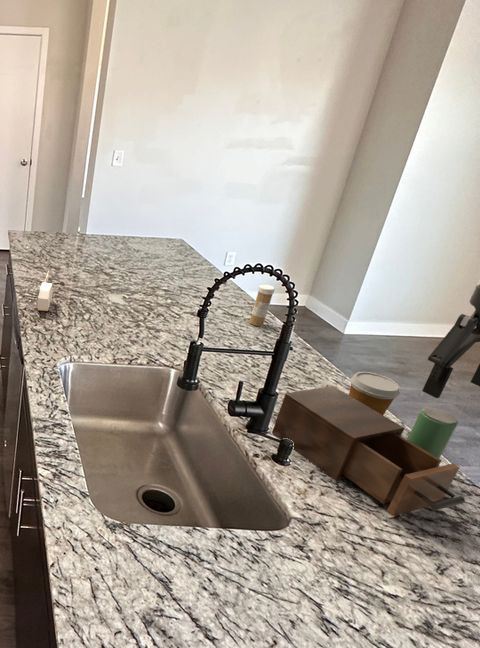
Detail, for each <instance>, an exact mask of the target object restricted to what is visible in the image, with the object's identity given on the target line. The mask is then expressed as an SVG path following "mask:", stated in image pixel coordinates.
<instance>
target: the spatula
mask: <svg viewBox="0 0 480 648" xmlns="http://www.w3.org/2000/svg"><path fill="white" fill-rule="evenodd" d="M49 275H50V270H48V271H47V274H46V276H45V279H44V281H43V282H41V284H40V287H39V292H38V297H37V303H36V306H37V311H43V312H48V311H49V309H50V306H51V305H50V304H51V302H52V299H53V282H48V281H49V277H50V276H49Z"/></svg>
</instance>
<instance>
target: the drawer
mask: <svg viewBox="0 0 480 648" xmlns="http://www.w3.org/2000/svg"><path fill="white" fill-rule="evenodd" d="M441 463H442V459H441V458H440V459H438V458H437V457H435V456H433V455H432V454H430V453H429V452H427V451H425V450H424V449H422V448H420V447H419V446H417V445H415V444H414V443H412V442H410V441H409V440H407V438H405V437H404V436H402V435H401V436H400V435H399V434H397V433H393V434H388V435H383V436H378V437H373V438H368V439H363V440H358V441H355V444H354V446H353V448H352V451H351V453H350V455H349V457H348V460H347V462H346V464H345V467H344V469H343V471H342V474H343V475H344V476H345V477H347V478H346V479H348V480H349V481H351V482H352V483H354V484H355V485H356V486H358V487H359V488H360V489H362V490H363V491H364V492H366V493H367V494H368V495H370V496H372V497H373V498H374V499H375V500H377V501H378V502H379V503H380V504H383V505H385V504H388V503H389V505H388V508H387V510H386V512H387V514H389V515H390V516H392V517H395V516H398V515H401V514H405V513H409V512H413V511H417V510H420V509H425V508H430V509H431V510H432V511H438V510H443V509H446V508H450V507H454V506H457V505H462V504H465V502H466V498H465V497H464V496H462V495H459V494H458V495H456V494H454V492H452V491H451V490H449V488H450V487H451V485H452V482H453V481H454V479H455V477H456V475H457V473H458V472H459V470H460V466H458V465H457V464H455V463H449V464H444V465H441V466H440V464H441ZM445 495H446V496H449V497H446V498H444V497H445Z"/></svg>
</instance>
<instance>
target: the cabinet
mask: <svg viewBox="0 0 480 648" xmlns="http://www.w3.org/2000/svg"><path fill="white" fill-rule="evenodd" d="M274 423H275V424H274V425H273V429H272V431H271V433H272V434H273V435H274V436H276V437H277V438H278V439H280V440H281V439H283V438H288V439H290V440H292V441H293V442H294V449H293V450H294V451H295V452H297V453H298V454H299V455H301V456H302V457H304V459H306V460H307V461H309V462H310V463H311V464H312V465H314V466H315V467H317V469H319V470H321V471H322V472H323V473H324V474H326V475H327V476H328V477H329V478H331V479H332V480H334V481H335V482H337V481H340V480H344V479H348V478H347V477H345V476H344V475H343V474H342V471H343V469H344V467H345V464H346V462H347V460H348V457H349V455H350V453H351V451H352V448H353V446H354V444H355V441H358V440H363V439H368V438H373V437H378V436H383V435H388V434H393V433H397V434H399V435H400V436H402V434H403V433H404V430H405V427H404V426H402V425H401V424H399V423H397V422H396V421H393V420H392V419H391V418H389V417H387V416H386V415H382V414H380V413H378V412H377V411H375V410H373V409H371V408H370V407H368V406H366V405H365V404H363V403H361V402H359V401H358V400H356V399H354V398H353V397H351V396H349V394H347V393H346V392H344V391H342V390H340V389H339V388H337V387H335V386H334V385H328V386H323V387H316V388H309V389H305V390H304V389H303V390H298V391H292V392H285V394H284V397H283V399H282V403H281V406H280V408H279V411H278V414H277V417H276V420H275V422H274Z"/></svg>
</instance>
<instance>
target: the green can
mask: <svg viewBox="0 0 480 648" xmlns="http://www.w3.org/2000/svg"><path fill="white" fill-rule="evenodd" d="M458 424H459V421H458V419H457V417H456V416H455V415H454V414H452V413H450V412H448V411H446V410H443V409H440V408H437V407H430V406H429V407H424V408H422V409H421V410H420V411H419V413H418V416H417V417H416V420H415V421H414V423H413V426H412V428H411V430H410V432H409V434H408V436H407V438H406V439H407V440H409V441H410V442H412V443H414V444H415V445H417V446H419V447H420V448H422V449H424V450H425V451H427V452H429V453H430V454H432V455H433V456H435V457H437V458H438V459H440V460H441V457H442V455H443V453H444V451H445V449H446V447H447V445H448V443H449V441H450V439H451V438H452V436H453V434H454V433H455V430H456V428H457V426H458Z"/></svg>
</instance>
